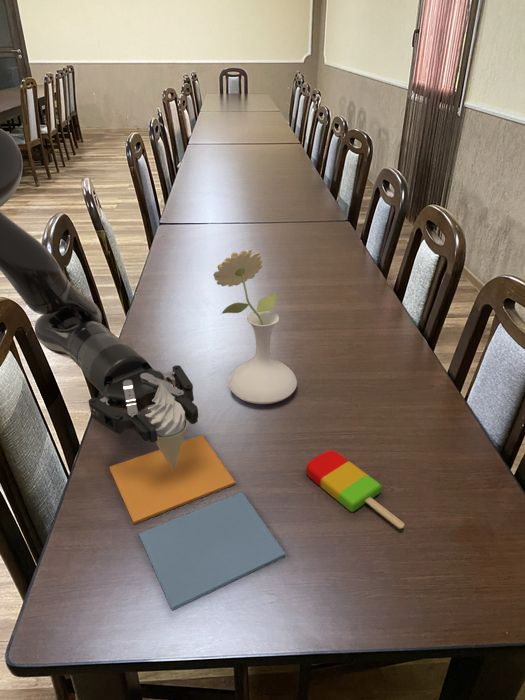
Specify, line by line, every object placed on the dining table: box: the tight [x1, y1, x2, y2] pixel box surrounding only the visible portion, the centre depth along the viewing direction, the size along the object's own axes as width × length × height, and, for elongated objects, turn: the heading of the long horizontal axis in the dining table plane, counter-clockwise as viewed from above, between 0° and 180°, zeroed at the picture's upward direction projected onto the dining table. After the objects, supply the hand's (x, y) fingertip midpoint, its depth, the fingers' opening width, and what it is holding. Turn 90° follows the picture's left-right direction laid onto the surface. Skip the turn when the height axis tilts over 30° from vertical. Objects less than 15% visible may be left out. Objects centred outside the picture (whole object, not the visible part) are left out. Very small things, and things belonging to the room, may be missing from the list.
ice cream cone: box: [144, 381, 188, 471], centre depth 68 cm, size 5×5×15 cm
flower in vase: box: [213, 249, 298, 405], centre depth 84 cm, size 13×11×25 cm
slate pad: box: [138, 491, 286, 611], centre depth 63 cm, size 14×11×1 cm
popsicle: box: [306, 449, 405, 530], centre depth 70 cm, size 6×15×2 cm, turn 39°
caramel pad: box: [109, 434, 236, 525], centre depth 73 cm, size 14×11×1 cm
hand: (175, 426), depth 66 cm, fingers closed on ice cream cone, 5 cm apart
